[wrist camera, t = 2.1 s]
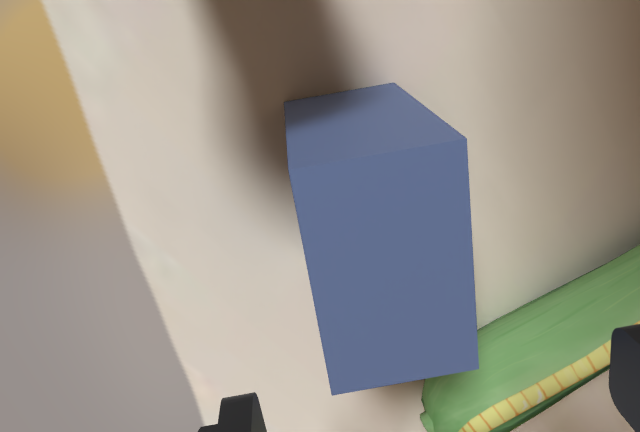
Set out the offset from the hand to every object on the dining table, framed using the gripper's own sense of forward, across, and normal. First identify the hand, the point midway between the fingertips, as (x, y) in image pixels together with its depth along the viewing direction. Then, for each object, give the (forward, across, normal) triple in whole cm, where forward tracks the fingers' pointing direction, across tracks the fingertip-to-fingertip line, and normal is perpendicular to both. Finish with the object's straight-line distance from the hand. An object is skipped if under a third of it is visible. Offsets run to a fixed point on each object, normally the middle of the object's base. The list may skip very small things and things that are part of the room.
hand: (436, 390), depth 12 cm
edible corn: (+15, -11, +9) cm, 21 cm away
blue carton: (+15, 0, 0) cm, 15 cm away
